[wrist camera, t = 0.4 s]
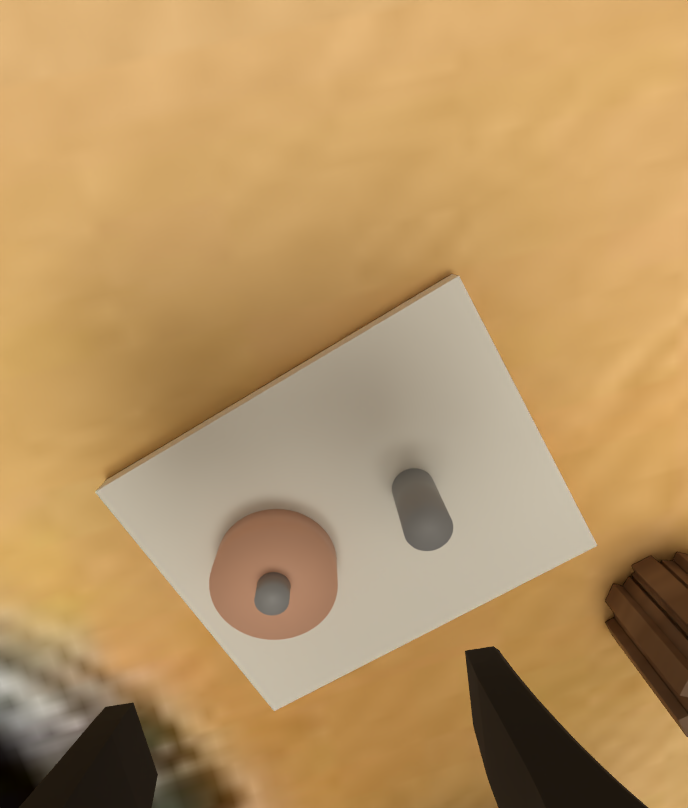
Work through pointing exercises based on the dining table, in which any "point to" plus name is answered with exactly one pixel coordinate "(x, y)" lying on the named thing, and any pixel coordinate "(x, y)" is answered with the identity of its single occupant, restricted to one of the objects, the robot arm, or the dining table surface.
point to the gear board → (355, 499)
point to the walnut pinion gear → (656, 628)
